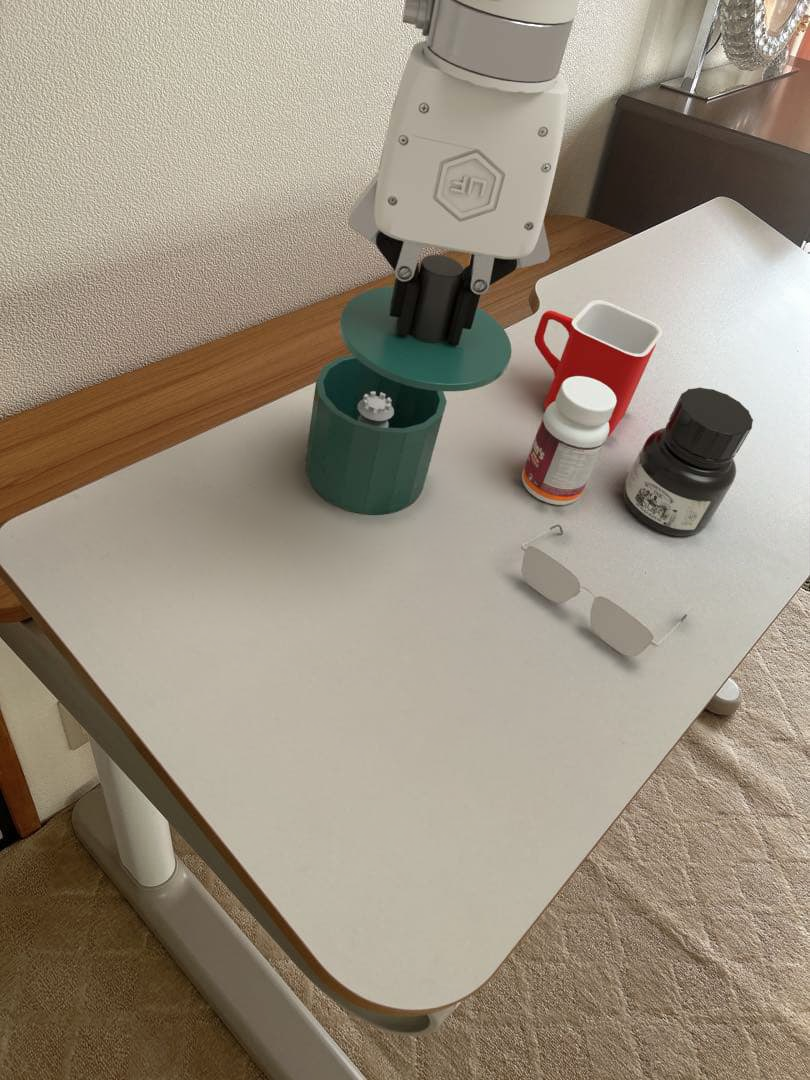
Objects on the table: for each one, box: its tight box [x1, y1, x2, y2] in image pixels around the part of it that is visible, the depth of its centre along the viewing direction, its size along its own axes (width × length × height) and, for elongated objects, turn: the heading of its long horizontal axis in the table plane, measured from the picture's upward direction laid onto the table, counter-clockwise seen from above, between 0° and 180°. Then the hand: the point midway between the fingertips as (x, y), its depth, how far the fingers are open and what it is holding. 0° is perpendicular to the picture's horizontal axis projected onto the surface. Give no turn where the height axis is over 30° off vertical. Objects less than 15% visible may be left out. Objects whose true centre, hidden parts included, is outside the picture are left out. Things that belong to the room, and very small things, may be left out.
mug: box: [534, 299, 664, 438], centre depth 94 cm, size 12×8×11 cm
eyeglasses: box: [520, 524, 688, 658], centre depth 76 cm, size 14×8×4 cm, turn 48°
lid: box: [338, 254, 512, 392], centre depth 59 cm, size 12×12×6 cm
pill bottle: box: [521, 376, 617, 506], centre depth 83 cm, size 6×6×11 cm
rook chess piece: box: [357, 391, 394, 428], centre depth 80 cm, size 4×4×8 cm
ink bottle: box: [622, 387, 754, 537], centre depth 83 cm, size 10×9×12 cm
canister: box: [304, 354, 447, 516], centre depth 80 cm, size 11×11×10 cm
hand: (428, 327), depth 61 cm, fingers closed on lid, 2 cm apart
